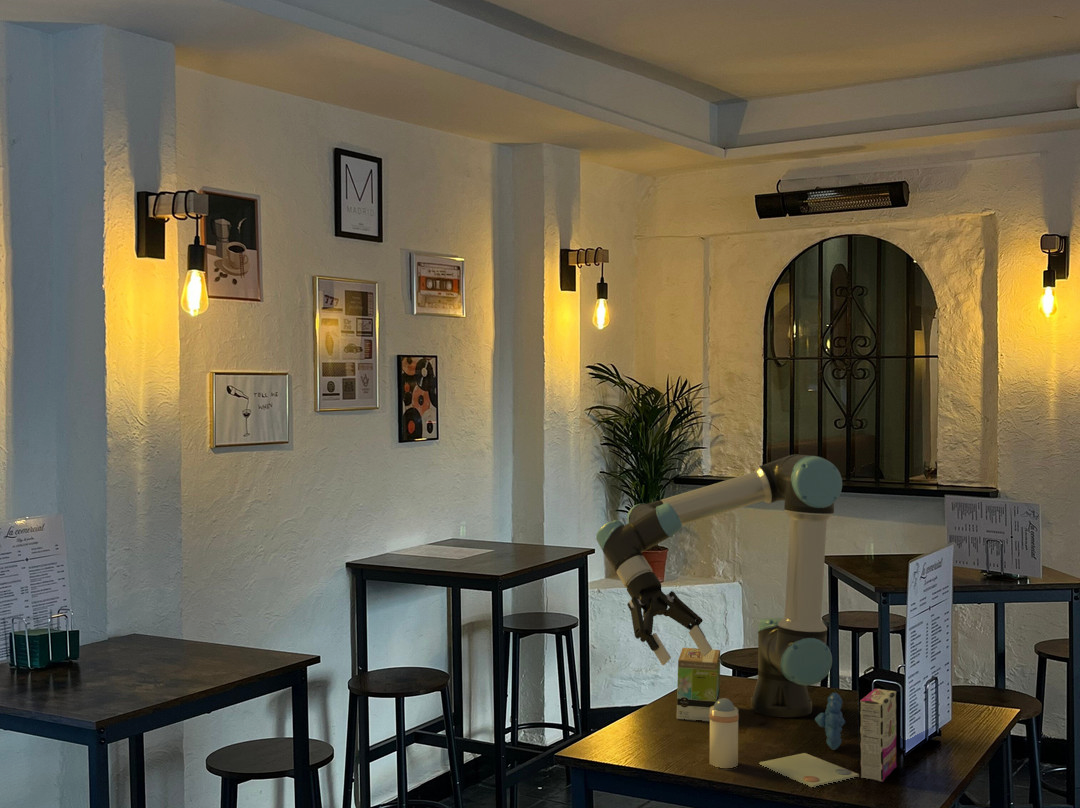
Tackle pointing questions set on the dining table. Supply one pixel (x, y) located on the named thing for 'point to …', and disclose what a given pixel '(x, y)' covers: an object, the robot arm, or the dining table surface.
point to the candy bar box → (878, 734)
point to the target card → (808, 769)
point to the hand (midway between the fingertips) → (687, 657)
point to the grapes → (832, 720)
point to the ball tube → (724, 734)
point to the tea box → (697, 683)
